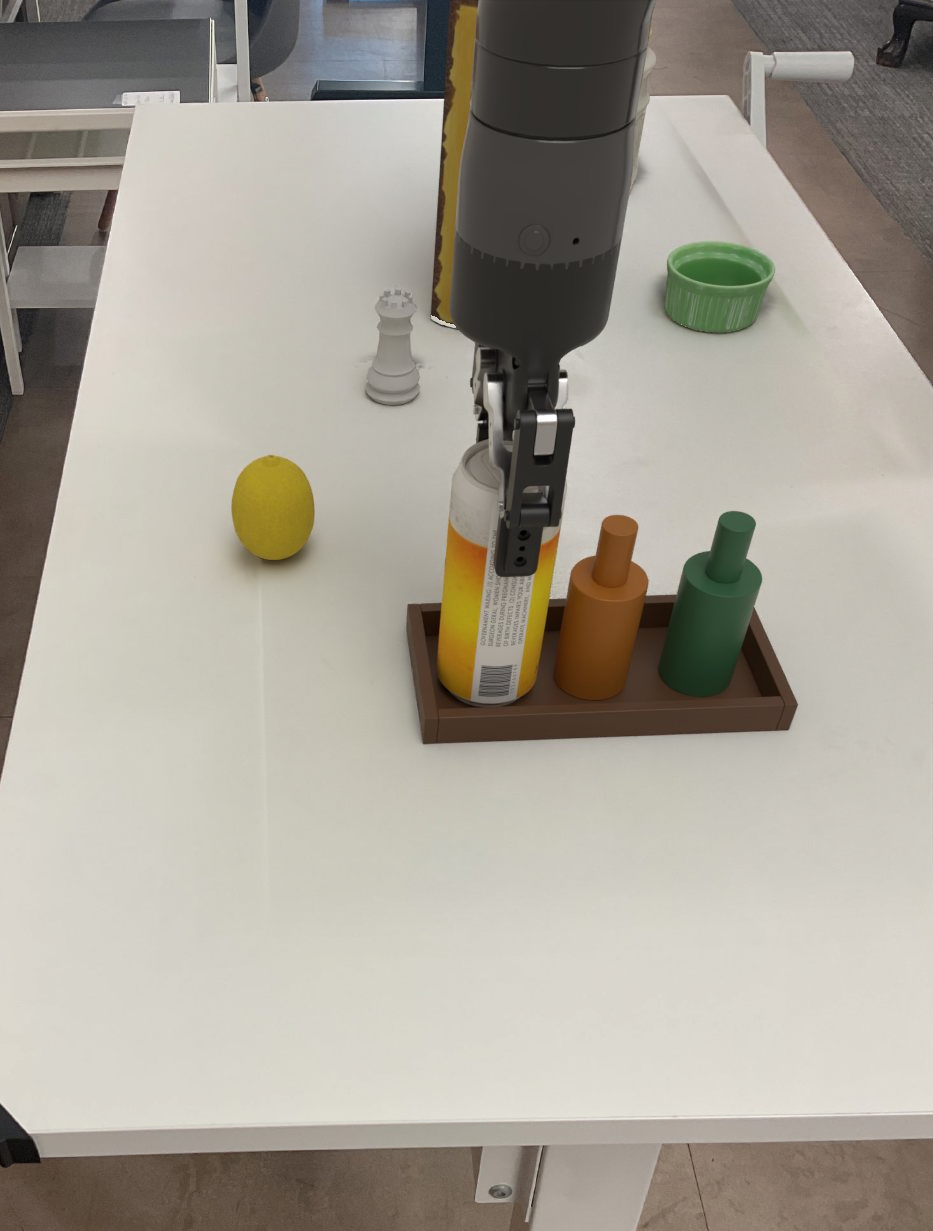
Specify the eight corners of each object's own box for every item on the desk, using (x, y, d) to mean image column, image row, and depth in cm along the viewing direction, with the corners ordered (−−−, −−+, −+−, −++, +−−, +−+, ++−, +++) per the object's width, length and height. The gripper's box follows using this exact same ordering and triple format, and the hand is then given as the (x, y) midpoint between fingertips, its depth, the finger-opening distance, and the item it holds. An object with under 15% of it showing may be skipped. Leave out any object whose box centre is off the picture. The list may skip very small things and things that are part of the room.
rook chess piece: (379, 412, 99) (382, 313, 93) (355, 386, 102) (357, 289, 96) (429, 399, 100) (436, 302, 94) (404, 374, 103) (409, 278, 97)
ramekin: (639, 299, 112) (648, 249, 109) (728, 283, 114) (740, 234, 110) (689, 344, 106) (701, 293, 103) (782, 328, 108) (796, 277, 105)
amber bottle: (617, 652, 78) (651, 500, 70) (632, 699, 75) (669, 547, 67) (547, 655, 78) (572, 503, 70) (560, 702, 75) (588, 550, 67)
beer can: (519, 643, 79) (550, 427, 68) (547, 707, 75) (585, 489, 64) (425, 654, 78) (441, 439, 67) (449, 719, 74) (470, 501, 63)
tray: (737, 624, 81) (748, 591, 79) (786, 737, 74) (798, 704, 72) (405, 636, 81) (407, 603, 79) (422, 751, 73) (424, 718, 72)
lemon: (318, 581, 84) (317, 477, 79) (236, 586, 84) (229, 482, 78) (312, 534, 88) (310, 431, 82) (233, 538, 88) (226, 435, 82)
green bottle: (720, 648, 78) (765, 497, 70) (739, 695, 75) (789, 543, 67) (650, 651, 78) (688, 499, 70) (667, 698, 75) (708, 545, 67)
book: (500, 339, 107) (537, 0, 88) (410, 318, 110) (427, -15, 91) (589, 241, 120) (636, -73, 101) (506, 224, 123) (538, -84, 104)
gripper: (658, 289, 52) (596, 605, 64) (591, 157, 61) (548, 454, 73) (477, 294, 51) (449, 611, 64) (438, 161, 61) (420, 458, 73)
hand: (502, 526), depth 68 cm, fingers open, 8 cm apart
